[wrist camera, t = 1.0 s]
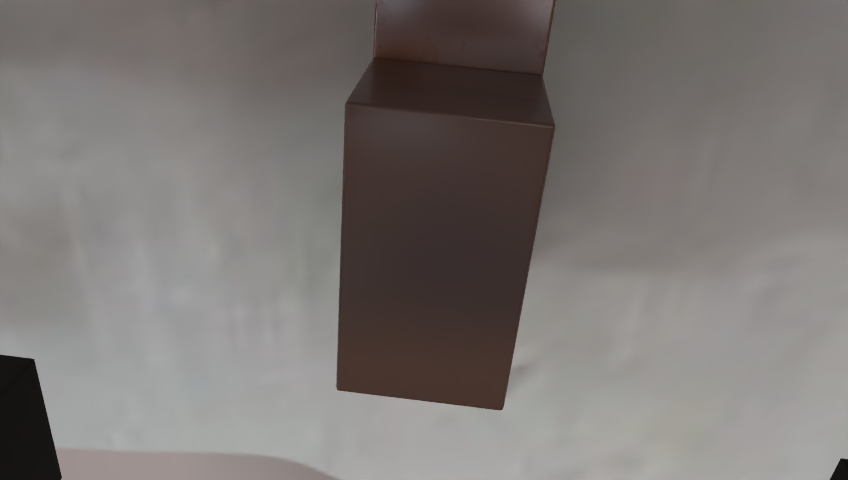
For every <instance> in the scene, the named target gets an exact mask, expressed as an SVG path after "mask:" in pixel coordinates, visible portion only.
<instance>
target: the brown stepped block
mask: <svg viewBox="0 0 848 480" xmlns="http://www.w3.org/2000/svg"><path fill="white" fill-rule="evenodd" d="M555 1H556V0H376V7H375V28H374V48H373V60H372V61H371V63H370V64H369V66H368V68H367V69H366V71H365V72H364V74H363V76H362V77H361V79H360V81H359V82H358V84H357V85H356V87H355V89H354V90H353V92H352V93H351V95H350V97H349V98H348V100H347V102H346V104H345V127H344V159H343V191H342V224H341V256H340V288H339V320H338V352H337V384H336V387H337V390H340V391H348V392H356V393H364V394H372V395H380V396H388V397H396V398H405V399H413V400H421V401H429V402H437V403H445V404H453V405H462V406H470V407H478V408H486V409H494V410H502V409H503V407H504V402H505V397H506V391H507V386H508V380H509V375H510V369H511V364H512V359H513V353H514V348H515V342H516V337H517V332H518V326H519V321H520V315H521V310H522V305H523V299H524V294H525V288H526V283H527V278H528V272H529V267H530V261H531V256H532V251H533V245H534V240H535V234H536V229H537V223H538V218H539V213H540V207H541V202H542V196H543V191H544V186H545V180H546V175H547V169H548V164H549V159H550V153H551V148H552V142H553V137H554V132H555V124H554V120H553V116H552V112H551V108H550V104H549V100H548V97H547V93H546V89H545V85H544V81H543V72H544V66H545V60H546V54H547V48H548V42H549V36H550V30H551V24H552V18H553V13H554V7H555Z"/></svg>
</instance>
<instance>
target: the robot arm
mask: <svg viewBox="0 0 848 480" xmlns="http://www.w3.org/2000/svg"><path fill="white" fill-rule="evenodd" d="M61 478H62V476H61V472H60V468H59V463H58V459H57V455H56V451H55V446H54V442H53V438H52V434H51V429H50V425H49V421H48V417H47V412H46V408H45V404H44V399H43V395H42V391H41V387H40V382H39V378H38V374H37V370H36V365H35V361H34V359H30V358H22V357H14V356H5V355H0V480H61ZM830 480H848V459H840V461H839V463H838V465H837V467H836V469H835V471H834V473H833V475H832V477H831V479H830Z"/></svg>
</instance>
